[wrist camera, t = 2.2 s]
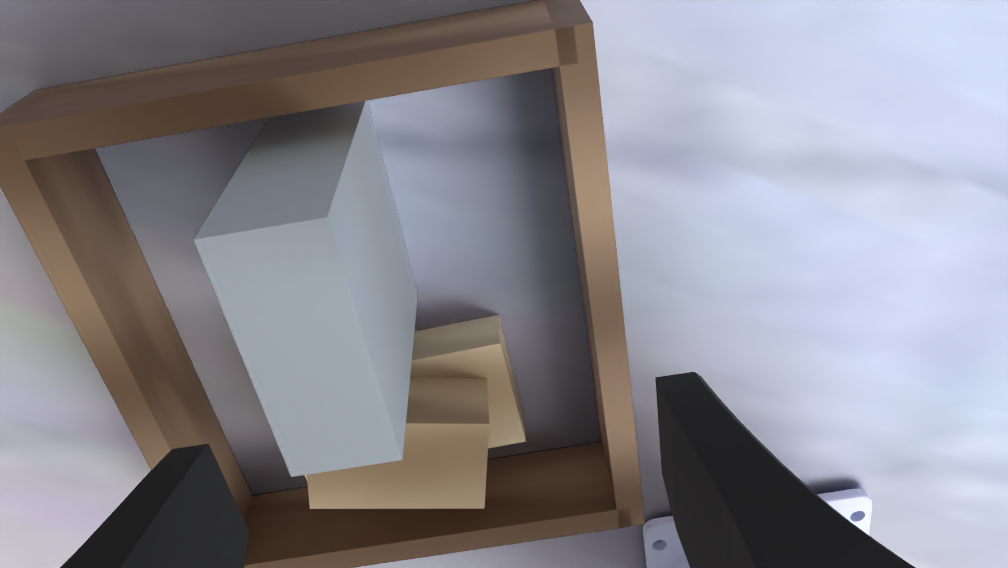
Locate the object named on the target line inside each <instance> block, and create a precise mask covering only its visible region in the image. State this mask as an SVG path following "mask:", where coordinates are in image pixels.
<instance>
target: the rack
mask: <svg viewBox="0 0 1008 568" xmlns="http://www.w3.org/2000/svg"><path fill="white" fill-rule="evenodd" d="M548 68H552V72H553V80H554V87H555V95H556V102H557V109H558V117H559V124H560V132H561V139H562V147H563V154H564V162H565V169H566V177H567V184H568V192H569V199H570V206H571V214H572V221H573V229H574V236H575V244H576V251H577V259H578V266H579V274H580V281H581V288H582V296H583V303H584V311H585V318H586V326H587V333H588V341H589V348H590V356H591V363H592V371H593V378H594V385H595V393H596V400H597V408H598V415H599V423H600V430H601V438H602V442H599V443H593V444H586V445H580V446H573V447H567V448H560V449H554V450H547V451H540V452H534V453H527V454H521V455H514V456H508V457H501V458H495V459H488V460H487V474H486V491H485V507H484V509H310V505H309V494H308V487H306V488H299V489H293V490H286V491H280V492H273V493H267V494H260V495H253V496H252V494H251V492H250V490H249V488H248V486H247V483H246V481H245V479H244V477H243V475H242V472H241V470H240V468H239V466H238V464H237V461H236V459H235V457H234V455H233V453H232V450H231V448H230V446H229V444H228V442H227V439H226V437H225V435H224V433H223V431H222V428H221V426H220V424H219V422H218V420H217V417H216V415H215V413H214V411H213V409H212V406H211V404H210V402H209V400H208V398H207V395H206V393H205V391H204V389H203V387H202V384H201V382H200V380H199V378H198V375H197V373H196V371H195V369H194V367H193V364H192V362H191V360H190V358H189V356H188V353H187V351H186V349H185V347H184V345H183V342H182V340H181V338H180V336H179V334H178V331H177V329H176V327H175V325H174V323H173V320H172V318H171V316H170V314H169V312H168V309H167V307H166V305H165V303H164V301H163V298H162V296H161V294H160V292H159V290H158V287H157V285H156V283H155V281H154V279H153V276H152V274H151V272H150V270H149V268H148V265H147V263H146V261H145V259H144V257H143V254H142V252H141V250H140V248H139V245H138V243H137V241H136V239H135V237H134V234H133V232H132V230H131V228H130V226H129V223H128V221H127V219H126V217H125V215H124V212H123V210H122V208H121V206H120V204H119V201H118V199H117V197H116V195H115V193H114V190H113V188H112V186H111V184H110V182H109V179H108V177H107V175H106V173H105V171H104V168H103V166H102V164H101V162H100V160H99V157H98V155H97V153H96V151H95V149H94V148H98V147H104V146H110V145H115V144H121V143H127V142H132V141H138V140H144V139H149V138H155V137H161V136H166V135H172V134H178V133H184V132H189V131H195V130H201V129H206V128H212V127H218V126H223V125H229V124H235V123H241V122H246V121H252V120H258V119H263V118H269V117H275V116H280V115H286V114H292V113H298V112H303V111H309V110H315V109H320V108H326V107H332V106H337V105H343V104H349V103H354V102H360V101H366V100H372V99H377V98H383V97H389V96H394V95H400V94H406V93H411V92H417V91H423V90H429V89H434V88H440V87H446V86H451V85H457V84H463V83H468V82H474V81H480V80H486V79H491V78H497V77H503V76H508V75H514V74H520V73H525V72H531V71H537V70H543V69H548ZM0 187H1V189H2V191H3V192H4V194H5V196H6V198H7V200H8V202H9V204H10V206H11V207H12V209H13V211H14V213H15V215H16V217H17V219H18V221H19V223H20V224H21V226H22V228H23V230H24V232H25V234H26V236H27V238H28V239H29V241H30V243H31V245H32V247H33V249H34V251H35V253H36V254H37V256H38V258H39V260H40V262H41V264H42V266H43V268H44V270H45V271H46V273H47V275H48V277H49V279H50V281H51V283H52V285H53V286H54V288H55V290H56V292H57V294H58V296H59V298H60V300H61V301H62V303H63V305H64V307H65V309H66V311H67V313H68V315H69V317H70V318H71V320H72V322H73V324H74V326H75V328H76V330H77V332H78V333H79V335H80V337H81V339H82V341H83V343H84V345H85V347H86V348H87V350H88V352H89V354H90V356H91V358H92V360H93V362H94V363H95V365H96V367H97V369H98V371H99V373H100V375H101V377H102V379H103V380H104V382H105V384H106V386H107V388H108V390H109V392H110V394H111V395H112V397H113V399H114V401H115V403H116V405H117V407H118V409H119V410H120V412H121V414H122V416H123V418H124V420H125V422H126V424H127V426H128V427H129V429H130V431H131V433H132V435H133V437H134V439H135V441H136V442H137V444H138V446H139V448H140V450H141V452H142V454H143V456H144V457H145V459H146V461H147V463H148V465H149V467H150V469H151V470H152V469H153V468H154V467H155V466H156V465H157V464H158V463H159V462H160V461H161V460H162V459H163V458H164V457H165V456H166V455H167V454H168V453H169V452H170V451H171V450H172V449H175V448H182V447H189V446H196V445H202V444H209V445H210V447H211V449H212V451H213V454H214V456H215V458H216V460H217V462H218V465H219V467H220V469H221V471H222V473H223V476H224V478H225V480H226V482H227V484H228V487H229V489H230V491H231V493H232V495H233V498H234V500H235V502H236V504H237V506H238V508H239V511H240V513H241V515H242V517H243V519H244V522H245V524H246V526H247V528H248V530H249V535H248V543H247V550H246V558H245V566H244V568H354V567H360V566H367V565H374V564H380V563H387V562H394V561H401V560H407V559H414V558H421V557H428V556H434V555H441V554H448V553H455V552H461V551H468V550H475V549H482V548H488V547H495V546H502V545H509V544H515V543H522V542H529V541H536V540H542V539H549V538H556V537H563V536H569V535H576V534H583V533H590V532H596V531H603V530H610V529H617V528H623V527H630V526H637V525H644V524H645V518H644V509H643V499H642V490H641V480H640V470H639V461H638V451H637V442H636V432H635V423H634V413H633V404H632V394H631V384H630V375H629V365H628V356H627V346H626V337H625V327H624V318H623V308H622V298H621V289H620V279H619V270H618V260H617V251H616V241H615V232H614V222H613V212H612V203H611V193H610V184H609V174H608V165H607V155H606V146H605V136H604V126H603V117H602V107H601V98H600V88H599V79H598V69H597V60H596V50H595V40H594V31H593V22H592V20H591V19H590V17H589V15H588V14H587V12H586V10H585V9H584V7H583V5H582V3H581V2H580V0H535V1H529V2H524V3H518V4H513V5H507V6H501V7H496V8H490V9H485V10H479V11H474V12H468V13H462V14H457V15H451V16H446V17H440V18H435V19H429V20H424V21H418V22H412V23H407V24H401V25H396V26H390V27H385V28H379V29H373V30H368V31H362V32H357V33H351V34H346V35H340V36H334V37H329V38H323V39H318V40H312V41H307V42H301V43H295V44H290V45H284V46H279V47H273V48H268V49H262V50H256V51H251V52H245V53H240V54H234V55H229V56H223V57H218V58H212V59H206V60H201V61H195V62H190V63H184V64H179V65H173V66H167V67H162V68H156V69H151V70H145V71H140V72H134V73H128V74H123V75H117V76H112V77H106V78H101V79H95V80H89V81H84V82H78V83H73V84H67V85H62V86H56V87H50V88H45V89H39V90H34V91H33V92H31V93H30V94H28V95H27V96H26V97H24V98H23V99H21V100H20V101H18V102H17V103H15V104H14V105H12V106H11V107H9V108H8V109H6V110H5V111H3V112H2V113H0Z"/></svg>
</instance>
